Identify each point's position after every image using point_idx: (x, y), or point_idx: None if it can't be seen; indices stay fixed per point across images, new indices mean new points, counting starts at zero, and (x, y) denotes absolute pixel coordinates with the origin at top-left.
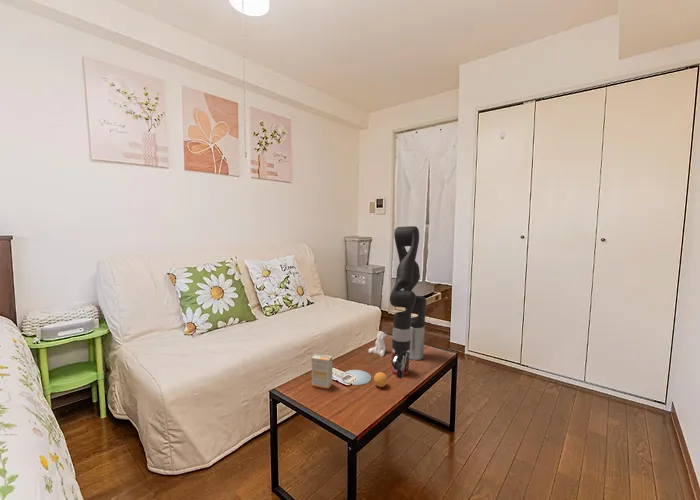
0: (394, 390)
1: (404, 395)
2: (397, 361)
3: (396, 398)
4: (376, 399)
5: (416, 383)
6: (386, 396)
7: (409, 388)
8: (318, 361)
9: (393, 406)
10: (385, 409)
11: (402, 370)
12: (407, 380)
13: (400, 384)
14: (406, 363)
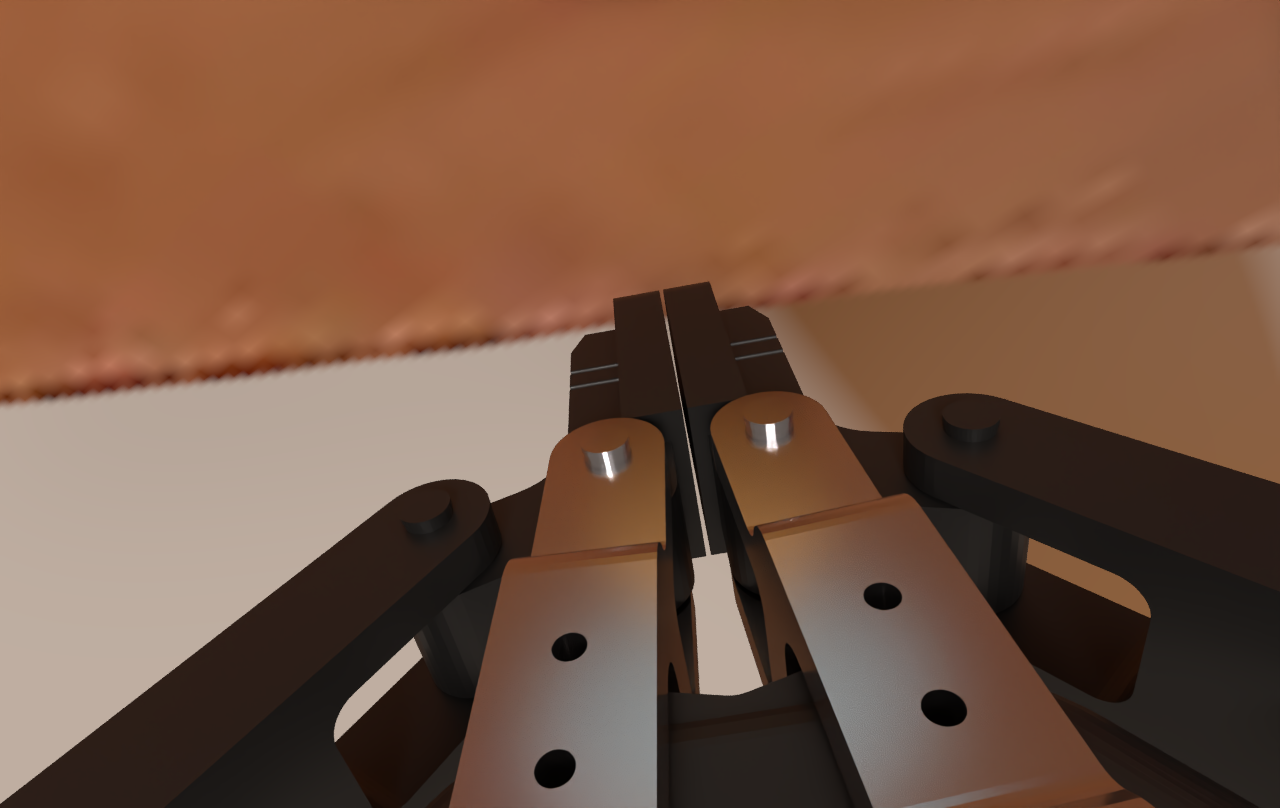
0: (662, 74)
1: None
2: None
3: (477, 271)
4: (124, 39)
5: (1164, 209)
6: (372, 108)
7: (917, 227)
8: None
9: (272, 373)
10: (105, 346)
11: (702, 539)
12: (1202, 5)
13: (954, 5)
14: (1036, 613)
